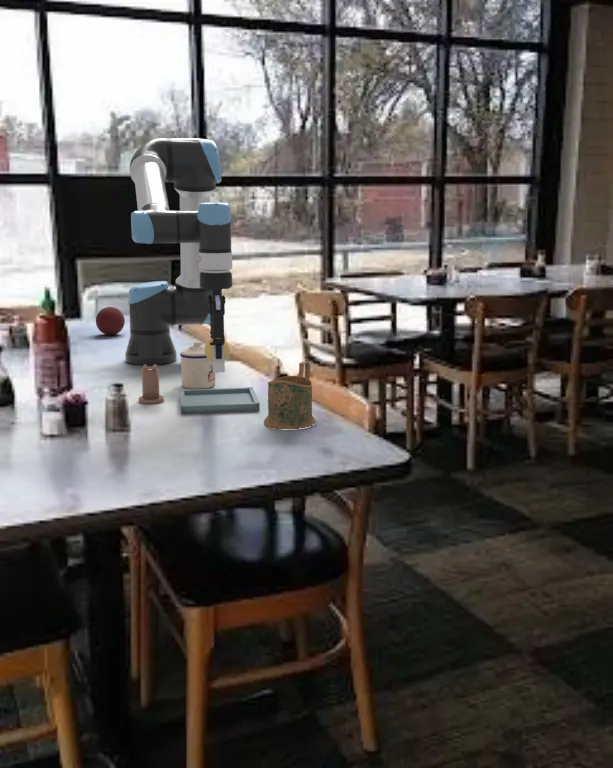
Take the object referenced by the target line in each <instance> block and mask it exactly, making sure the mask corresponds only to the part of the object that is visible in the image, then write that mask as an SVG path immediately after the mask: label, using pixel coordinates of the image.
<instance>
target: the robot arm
mask: <svg viewBox="0 0 613 768" xmlns="http://www.w3.org/2000/svg"><path fill="white" fill-rule="evenodd" d="M221 166H222V165H221V160H220V154H219V149H218V146H217V144H216V143H215V141H213V140H212V139H205V138H197V137H196V138H195V137H194V138H167V137H165V138H163V137H161V138H160V137H159V138H155V139H152V140H150V141H147V142H145V143H144V144H143V145H141V146H139V148H138V149H137V150H136V151H135V152H134V154H133V155H132V156H131V159H130V161H129V175H130V178H131V180H132V181H133V183H134V185H135V195H136V202H137V203H136V204H137V205H136V206H137V210H135V211H132V212H131V214H130V221H131V222H130V224H131V225H130V226H131V239H132V240H133V242H134V243H136V244H147V245H151V244H180V275H179V276H177V278H176V279H175V285H169V282H168V281H166V280H161V281H160V280H159V281H158V280H156V281H148V282H144V283H140V284H139V283H138V284H136V285H132V286H131V287H130V289H129V291H128V302H127V304H128V306H129V307H128V308H129V330H130V331H129V332H130V335H129V340H128V343H127V347H126V350H125V355H124V356H125V362H126V363H128V364H130V365H137V366H138V365H140V366H143V365H147V366H153V365H154V364H156V365H157V366H158V365H164V364H170V363H173V362H176V361H177V360H178V359H177V358H178V357H177V350H176V347H175V345H174V342H173V339H172V335H171V334H170V333H171V332H170V329H171V328H170V327H171V326H182V325H183V326H184V325H190V326H191V325H199V326H200V325H206V324H207V325H208V324H210V331H209V333H210V339H212V338H213V342H210V345H212V353H213V362H212V361H211V366H212V367H213V373H215V374H216V373H226V371H225V370H226V368H225V367H226V366H225V361H226V360H225V359H224V343H225V340H226V339H225V338H226V337H225V316H224V315H225V313H226V309H225V307H226V306H225V305H226V296H225V295H224V294H223V293H222V292H223V290H229V289H231V288H232V287H233V272H231V270H232V269H233V252H232V218H233V217H232V212H231V205H230V204H229V203H227V202H211V195H212V194H213V193H214V192H215V191H216V190H217V189H216V188H217V187H216V184H220V183H221V182H222V167H221ZM166 183H173V189H174V190H175V191H176V192H177V193H178V194H179V210H170V207H169V200H168V195H167V189H166ZM224 339H225V340H224Z"/></svg>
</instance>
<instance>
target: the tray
mask: <svg viewBox="0 0 613 768" xmlns="http://www.w3.org/2000/svg"><path fill="white" fill-rule="evenodd" d="M179 392H180V393H179V394H180V396H179V397H180V413H181V415H192V414H193V415H194V414H195V415H197V414H216V413H221V414H222V413H241V412H242V413H243V412H260V411H261V410H260V409H261V408H260V407H261V406H260V405H261V403H260V402H259V401H260V400H259V398H258V396H257V395H256V392H255V390H254V387H253V386H250V387H249V386H247V387H223V388H221V387H220V388H218V387H217V388H205V389H179Z"/></svg>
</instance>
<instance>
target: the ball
mask: <svg viewBox="0 0 613 768" xmlns="http://www.w3.org/2000/svg"><path fill="white" fill-rule="evenodd" d="M224 340H225V343H224V359H225V361H226V360H227V359H229V357H230V354H231V346H230V344H229V342H228V341H227V340H226V339H224ZM210 342H213V338H212V339H211V338H210V339H209V340H208V341H206V343H205V345H204V346H205V354H206V357H207V358H208V359H209V360H210V361H212V362H213V353H212V345H210Z"/></svg>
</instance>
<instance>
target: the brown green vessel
mask: <svg viewBox="0 0 613 768" xmlns="http://www.w3.org/2000/svg"><path fill="white" fill-rule="evenodd" d="M310 377H311V365H310V362H309V361H300V362H299V364H298V375H285V376H281V377H277V378H274V379H272V380H271V381H268V382H267V386H268V387H267V408H268V409H267V412H268V413H267V416H266V417H265V418H264V419H263V424H264V426H265V427H267V428H269V427H270V429H272V428H275V429H274V430H277V429H299V428H305V427H309V426H312V425H313V424H315V423H316V424H317V419H316V418H315V417H314V416H313V382H312V380H310Z"/></svg>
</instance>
